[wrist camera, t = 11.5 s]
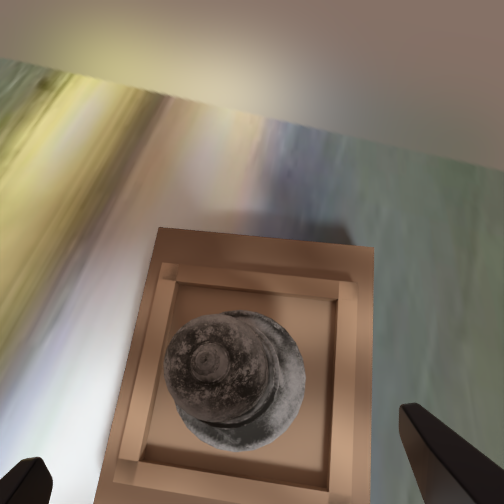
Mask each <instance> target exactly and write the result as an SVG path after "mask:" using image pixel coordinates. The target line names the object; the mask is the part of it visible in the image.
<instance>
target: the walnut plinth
mask: <svg viewBox="0 0 504 504" xmlns="http://www.w3.org/2000/svg"><path fill="white" fill-rule="evenodd" d="M373 281H374V247H364V246H353V245H343V244H332V243H321V242H311V241H300V240H290V239H279V238H269V237H258V236H248V235H237V234H226V233H216V232H205V231H195V230H184V229H174V228H163V227H159V228H158V233H157V237H156V241H155V245H154V249H153V254H152V258H151V262H150V266H149V271H148V275H147V279H146V283H145V287H144V292H143V296H142V300H141V304H140V308H139V313H138V317H137V321H136V325H135V330H134V334H133V338H132V342H131V346H130V351H129V355H128V359H127V363H126V368H125V372H124V376H123V380H122V384H121V389H120V393H119V397H118V401H117V406H116V410H115V414H114V418H113V422H112V427H111V431H110V435H109V439H108V444H107V448H106V452H105V456H104V460H103V465H102V469H101V473H100V477H99V482H98V486H97V490H96V494H95V498H94V503H93V504H370V468H371V406H372V344H373ZM234 310H246V311H253V312H258V313H260V314H262V315H265V316H267V317H269V318H272V319H273V320H274V321H276V322H277V323H278V324H280V325H281V326H282V327H283V328H285V329H286V330H287V332H288V333H289V334H290V336H291V337H292V338H293V340H294V341H295V342H296V344H297V346H298V349H299V351H300V353H301V356H302V358H303V362H304V368H305V375H306V382H305V392H304V398H303V401H302V404H301V406H300V409H299V412H298V415H297V416H296V418H295V419H294V420H293V422H292V423H291V425H290V426H289V427H288V429H287V430H286V431H285V432H284V433H283V434H282V435H280V436H279V437H278V438H277V439H275V440H274V441H273V442H272V443H270V444H267V445H265V446H263V447H260V448H258V449H256V450H251V451H242V452H231V451H226V450H220V449H216V448H214V447H212V446H210V445H208V444H207V443H205V442H203V441H201V440H200V439H198V438H197V437H196V436H195V435H194V434H193V433H192V432H191V431H190V430H189V429H188V428H187V427H186V425H185V423H184V422H183V420H182V418H181V417H180V415H179V413H178V412H177V409H176V405H175V402H174V399H173V398H172V396H171V394H170V393H169V391H168V389H167V385H166V382H165V378H164V358H165V354H166V349H167V347H168V345H169V343H170V341H171V339H172V337H173V336H174V335H175V334H176V332H177V331H178V330H179V329H180V328H181V327H182V326H183V325H185V324H186V323H188V322H189V321H190V320H192V319H195V318H197V317H200V316H203V315H211V314H219V313H222V312H226V311H234Z"/></svg>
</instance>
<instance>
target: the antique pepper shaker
mask: <svg viewBox="0 0 504 504" xmlns="http://www.w3.org/2000/svg"><path fill="white" fill-rule="evenodd" d="M164 378H165V382H166V385H167V389H168V391H169V393H170V394H171V396H172V398H173V399H174V402H175V405H176V409H177V412H178V413H179V415H180V417H181V418H182V420H183V422H184V423H185V425H186V427H187V428H188V429H189V430H190V431H191V432H192V433H193V434H194V435H195V436H196V437H197V438H198V439H200V440H201V441H203V442H205V443H207V444H208V445H210V446H212V447H214V448H216V449H220V450H226V451H231V452H242V451H251V450H256V449H258V448H260V447H263V446H265V445H267V444H270V443H272V442H273V441H274V440H275V439H277V438H278V437H279V436H280V435H282V434H283V433H284V432H285V431H286V430H287V429H288V427H289V426H290V425H291V423H292V422H293V420H294V419H295V418H296V416H297V415H298V412H299V409H300V406H301V404H302V401H303V398H304V392H305V382H306V375H305V368H304V362H303V358H302V356H301V353H300V351H299V349H298V346H297V344H296V342H295V341H294V340H293V338H292V337H291V336H290V334H289V333H288V332H287V330H286V329H285V328H283V327H282V326H281V325H280V324H278V323H277V322H276V321H274V320H273V319H272V318H269V317H267V316H265V315H262V314H260V313H258V312H253V311H246V310H234V311H226V312H222V313H219V314H211V315H203V316H200V317H197V318H195V319H192V320H190V321H189V322H188V323H186V324H185V325H183V326H182V327H181V328H180V329H179V330H178V331H177V332H176V334H175V335H174V336H173V337H172V339H171V341H170V343H169V345H168V347H167V349H166V354H165V358H164Z"/></svg>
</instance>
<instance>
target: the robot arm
mask: <svg viewBox="0 0 504 504" xmlns="http://www.w3.org/2000/svg"><path fill="white" fill-rule="evenodd" d="M399 433H400V437H401V440H402V443H403V446H404V448H405V451H406V454H407V457H408V459H409V462H410V465H411V467H412V470H413V473H414V476H415V478H416V481H417V484H418V486H419V489H420V492H421V494H422V497H423V500H424V502H425V504H504V470H503V469H502V468H501V467H499V466H498V465H497V464H496V463H494V462H493V461H492V460H490V459H489V458H488V457H487V456H485V455H484V454H483V453H481V452H480V451H479V450H478V449H476V448H475V447H474V446H472V445H471V444H470V443H469V442H467V441H466V440H465V439H463V438H462V437H461V436H459V435H458V434H457V433H456V432H454V431H453V430H452V429H450V428H449V427H448V426H447V425H445V424H444V423H443V422H441V421H440V420H439V419H438V418H436V417H435V416H434V415H432V414H431V413H430V412H429V411H427V410H426V409H425V408H423V407H422V406H421V405H419V404H418V403H408V404H402V405H401V406H400V408H399ZM52 487H53V480H52V476H51V474H50V472H49V471H48V469H47V467H46V465H45V463H44V461H43V459H42V458H40V457H33V458H26V459H23V460H21V461H20V462H19V463H18V464H16V465H15V466H14V467H13V468H12V469H11V470H10V471H9V472H8V473H7V474H6V475H5V476H4V477H3V478H2V479H0V504H49V500H50V496H51V492H52Z"/></svg>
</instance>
